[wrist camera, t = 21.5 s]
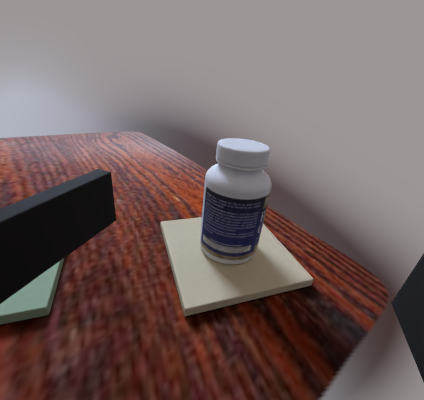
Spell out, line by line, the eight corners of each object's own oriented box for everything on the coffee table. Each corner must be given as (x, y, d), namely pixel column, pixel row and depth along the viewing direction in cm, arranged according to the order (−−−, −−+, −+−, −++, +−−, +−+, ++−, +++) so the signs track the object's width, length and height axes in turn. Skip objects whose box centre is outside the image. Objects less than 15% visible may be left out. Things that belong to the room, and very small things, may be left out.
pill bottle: (264, 265, 21) (292, 157, 16) (203, 268, 20) (214, 153, 15) (247, 229, 25) (265, 137, 21) (196, 229, 24) (204, 133, 20)
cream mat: (311, 285, 20) (314, 278, 20) (184, 317, 16) (184, 309, 16) (251, 217, 29) (252, 211, 29) (160, 227, 25) (160, 221, 25)
